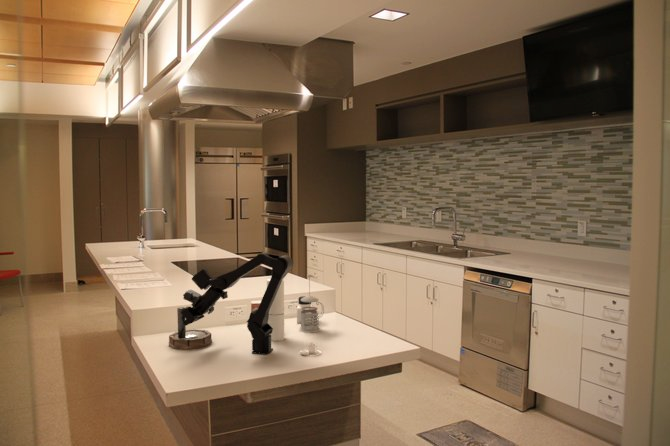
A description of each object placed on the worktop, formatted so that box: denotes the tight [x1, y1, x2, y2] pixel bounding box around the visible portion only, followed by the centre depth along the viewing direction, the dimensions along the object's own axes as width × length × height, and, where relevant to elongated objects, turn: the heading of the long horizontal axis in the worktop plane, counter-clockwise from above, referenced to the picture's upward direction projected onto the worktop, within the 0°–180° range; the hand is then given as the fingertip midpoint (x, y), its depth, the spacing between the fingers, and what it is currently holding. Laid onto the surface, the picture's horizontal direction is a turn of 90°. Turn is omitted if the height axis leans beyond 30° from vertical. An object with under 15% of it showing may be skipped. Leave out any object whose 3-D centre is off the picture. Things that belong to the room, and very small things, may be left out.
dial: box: [174, 307, 206, 339], centre depth 219 cm, size 13×13×14 cm
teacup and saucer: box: [299, 341, 322, 357], centre depth 206 cm, size 9×8×4 cm
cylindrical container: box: [266, 278, 285, 342], centre depth 225 cm, size 7×7×25 cm
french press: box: [298, 274, 325, 334], centre depth 240 cm, size 10×12×25 cm
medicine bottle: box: [296, 295, 314, 324], centre depth 255 cm, size 7×7×12 cm
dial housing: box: [168, 328, 213, 350], centre depth 219 cm, size 17×17×4 cm
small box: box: [250, 299, 262, 313], centre depth 239 cm, size 8×6×13 cm
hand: (184, 324), depth 214 cm, fingers closed
